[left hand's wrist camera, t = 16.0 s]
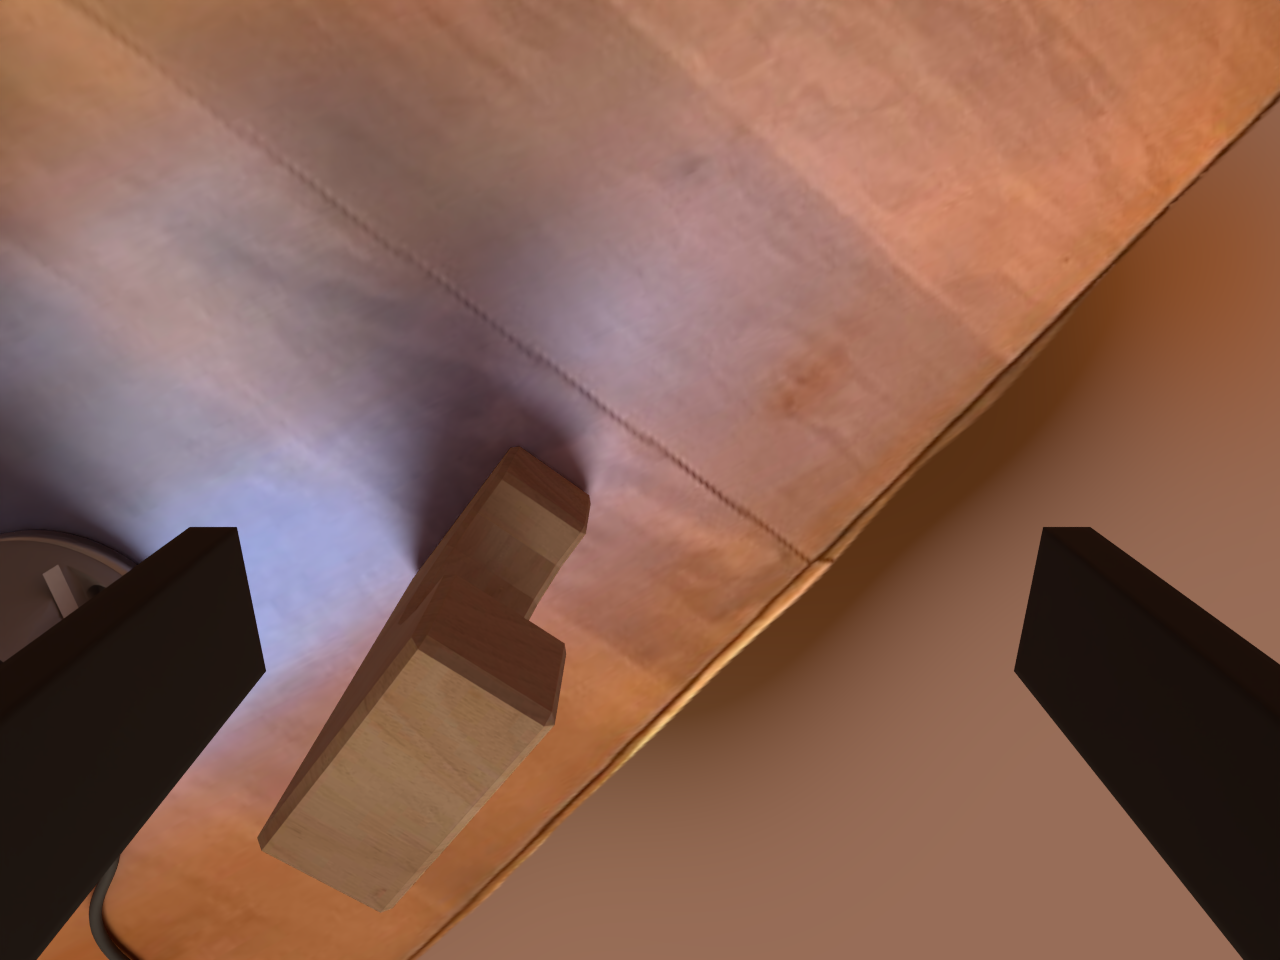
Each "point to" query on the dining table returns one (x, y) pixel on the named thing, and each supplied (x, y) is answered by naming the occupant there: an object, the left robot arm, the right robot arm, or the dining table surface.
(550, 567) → the decorative block
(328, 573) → the dining table surface
